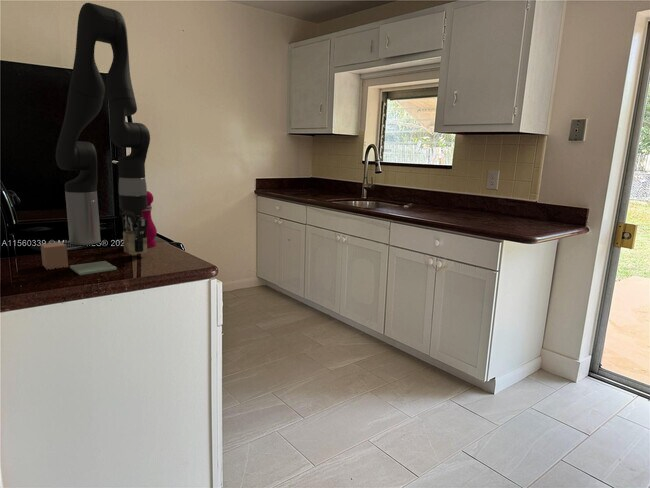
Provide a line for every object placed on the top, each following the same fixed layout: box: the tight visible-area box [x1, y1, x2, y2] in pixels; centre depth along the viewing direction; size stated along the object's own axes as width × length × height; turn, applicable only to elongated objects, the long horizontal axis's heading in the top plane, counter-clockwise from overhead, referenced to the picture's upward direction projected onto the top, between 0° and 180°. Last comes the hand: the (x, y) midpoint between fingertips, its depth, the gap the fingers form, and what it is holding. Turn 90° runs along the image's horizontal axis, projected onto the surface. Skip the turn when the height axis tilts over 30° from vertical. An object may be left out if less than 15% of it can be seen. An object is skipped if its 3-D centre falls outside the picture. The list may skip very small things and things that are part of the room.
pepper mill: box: [142, 190, 158, 248], centre depth 146 cm, size 7×7×20 cm
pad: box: [69, 260, 118, 276], centre depth 119 cm, size 9×9×1 cm
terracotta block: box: [40, 241, 69, 271], centre depth 120 cm, size 5×5×6 cm
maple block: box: [122, 231, 148, 256], centre depth 133 cm, size 5×5×6 cm
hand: (135, 249), depth 133 cm, fingers closed on maple block, 5 cm apart
